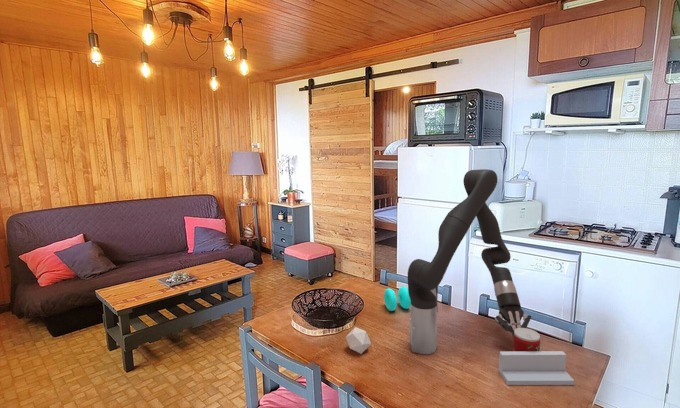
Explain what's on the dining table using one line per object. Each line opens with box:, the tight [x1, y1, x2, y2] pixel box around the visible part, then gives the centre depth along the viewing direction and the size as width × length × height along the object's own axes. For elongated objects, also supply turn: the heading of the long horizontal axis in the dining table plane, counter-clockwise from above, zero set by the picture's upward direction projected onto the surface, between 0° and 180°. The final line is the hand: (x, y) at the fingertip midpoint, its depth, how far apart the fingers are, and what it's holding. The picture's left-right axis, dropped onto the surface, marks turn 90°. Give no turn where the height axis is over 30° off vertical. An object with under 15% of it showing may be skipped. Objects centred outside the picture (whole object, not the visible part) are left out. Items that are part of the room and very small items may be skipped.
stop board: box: [498, 350, 575, 386], centre depth 114 cm, size 20×7×7 cm, turn 87°
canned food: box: [512, 327, 541, 351], centre depth 121 cm, size 8×8×11 cm
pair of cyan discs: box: [383, 286, 411, 312], centre depth 165 cm, size 10×10×10 cm
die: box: [345, 326, 372, 355], centre depth 133 cm, size 8×9×10 cm
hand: (519, 343), depth 126 cm, fingers closed
